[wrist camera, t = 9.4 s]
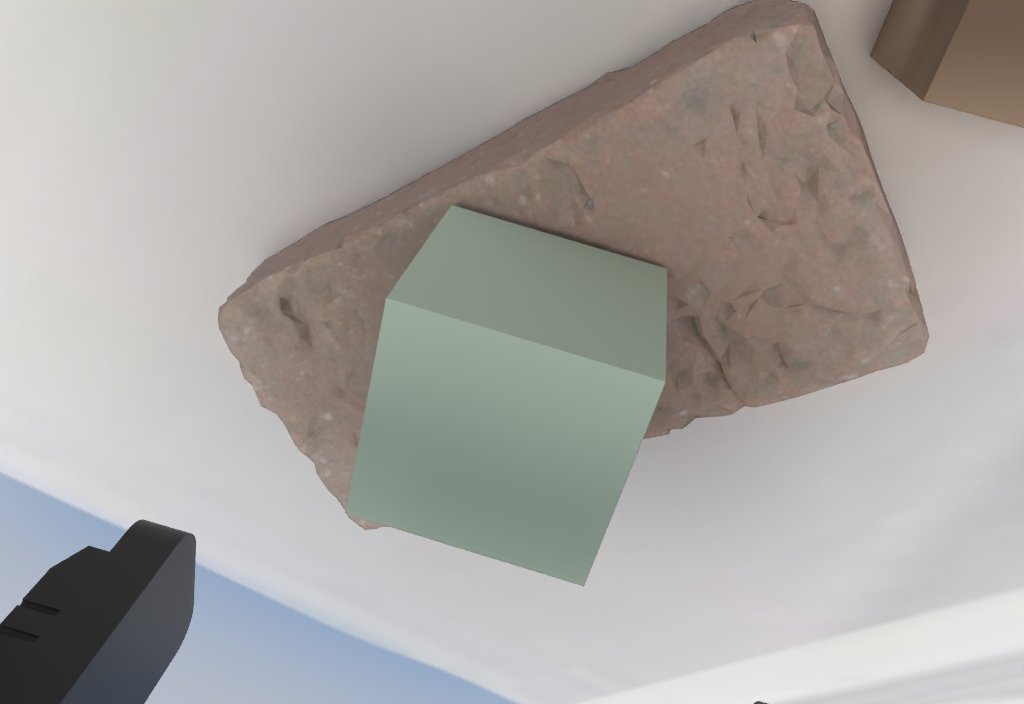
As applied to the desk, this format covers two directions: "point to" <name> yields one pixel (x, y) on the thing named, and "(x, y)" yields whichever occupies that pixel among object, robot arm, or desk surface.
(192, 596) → the robot arm
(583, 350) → the green block
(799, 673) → the desk surface
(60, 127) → the desk surface
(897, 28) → the walnut block
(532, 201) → the brick
